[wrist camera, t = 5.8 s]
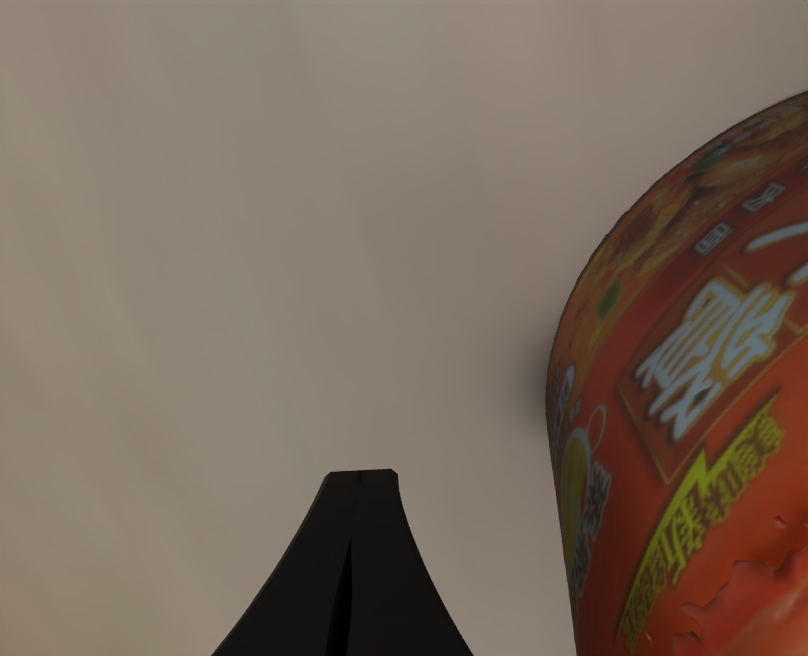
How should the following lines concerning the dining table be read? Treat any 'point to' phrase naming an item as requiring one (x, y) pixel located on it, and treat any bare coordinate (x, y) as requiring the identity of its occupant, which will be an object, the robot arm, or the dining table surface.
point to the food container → (692, 408)
